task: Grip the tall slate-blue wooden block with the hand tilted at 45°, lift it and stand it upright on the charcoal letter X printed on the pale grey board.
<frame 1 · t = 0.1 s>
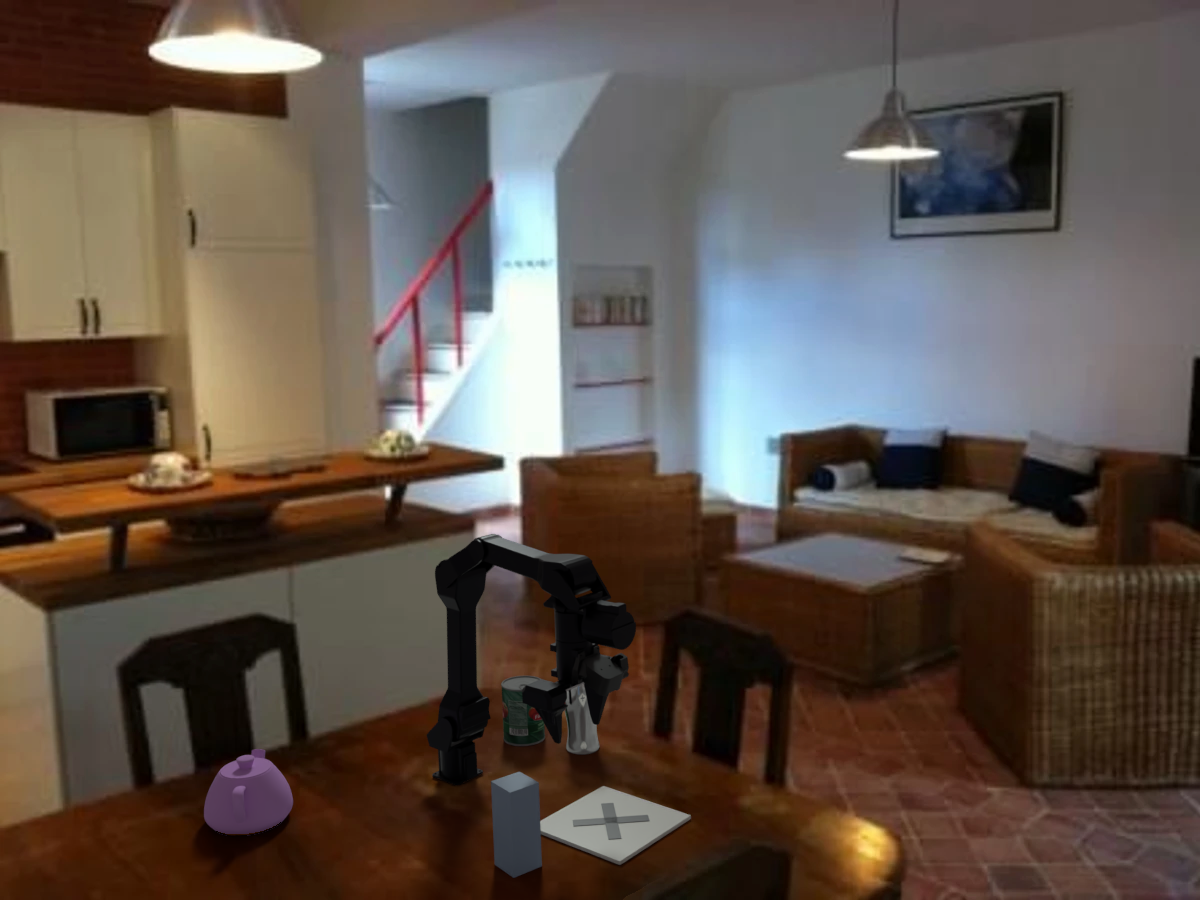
hand: (577, 733, 176), 15 cm above the table, tool pointing down, fingers open, 9 cm apart
blue block: (518, 865, 165), on the table
beer glass: (582, 749, 207), on the table
teapot: (250, 818, 183), on the table
canned tomato: (524, 739, 212), on the table
letter pad: (611, 824, 177), on the table
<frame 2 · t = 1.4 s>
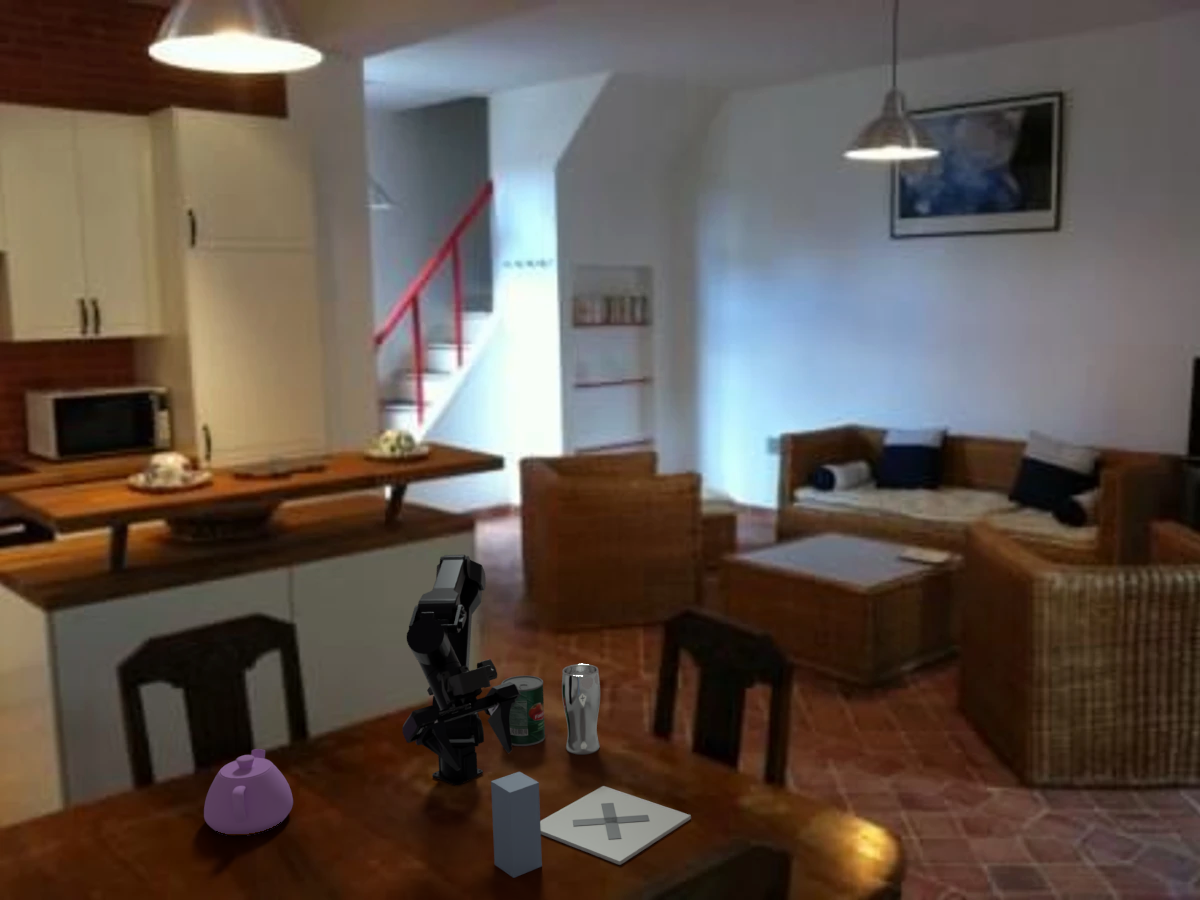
hand: (485, 760, 170), 13 cm above the table, tool tilted 45°, fingers open, 9 cm apart
nothing on the table moved.
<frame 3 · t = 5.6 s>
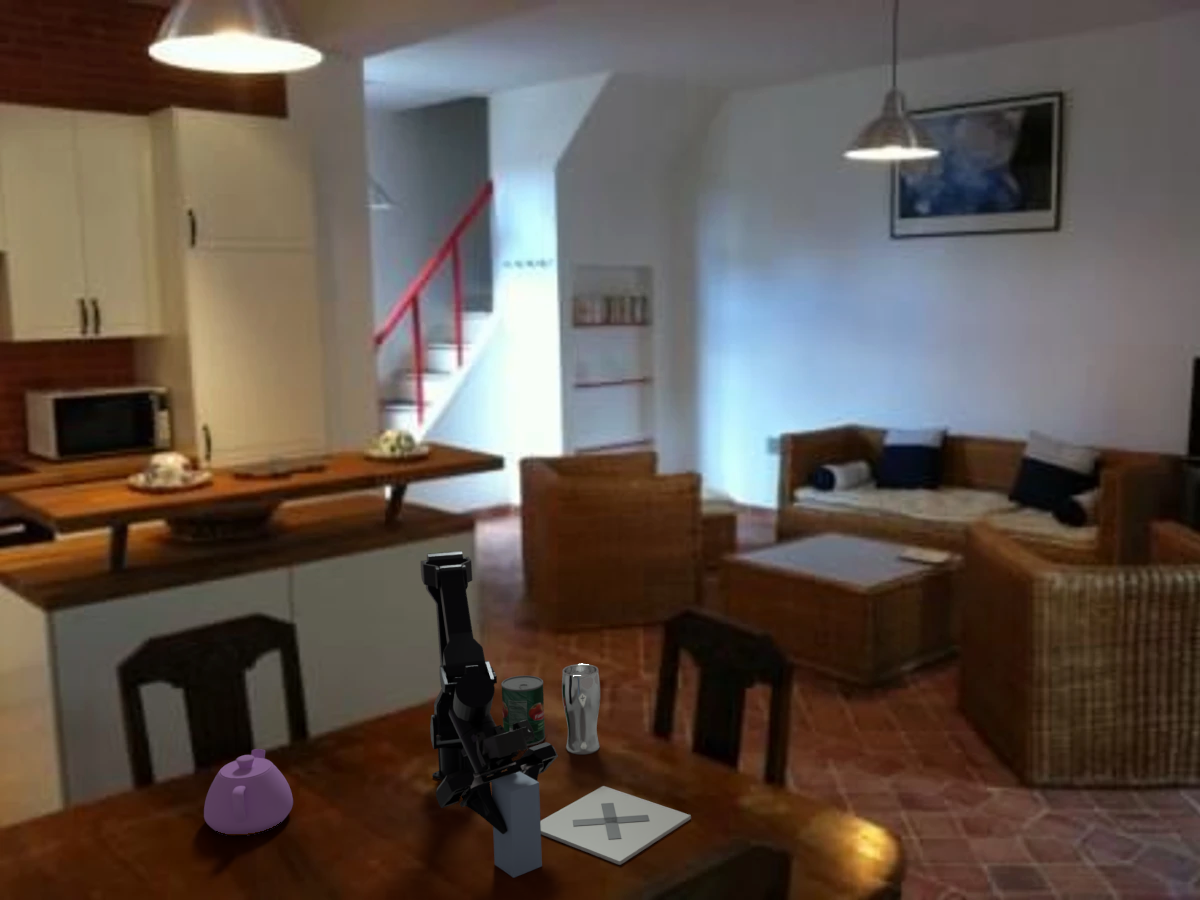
hand: (521, 826, 163), 7 cm above the table, tool tilted 45°, fingers closed on blue block, 5 cm apart
blue block: (518, 865, 165), on the table, touching gripper
everything else where it was.
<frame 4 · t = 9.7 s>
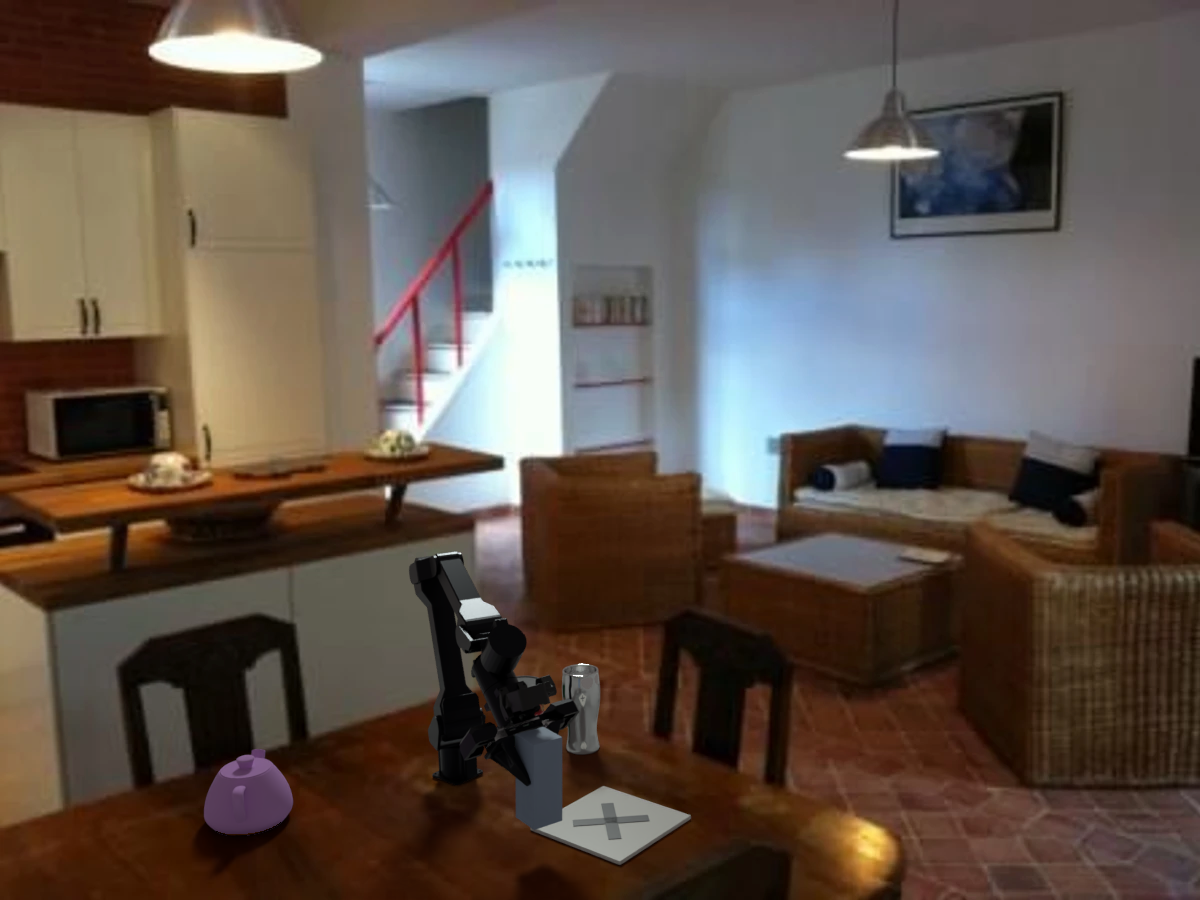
hand: (544, 779, 165), 12 cm above the table, tool tilted 45°, fingers closed on blue block, 5 cm apart
blue block: (539, 818, 167), point 6 cm above the table, touching gripper
everything else where it was.
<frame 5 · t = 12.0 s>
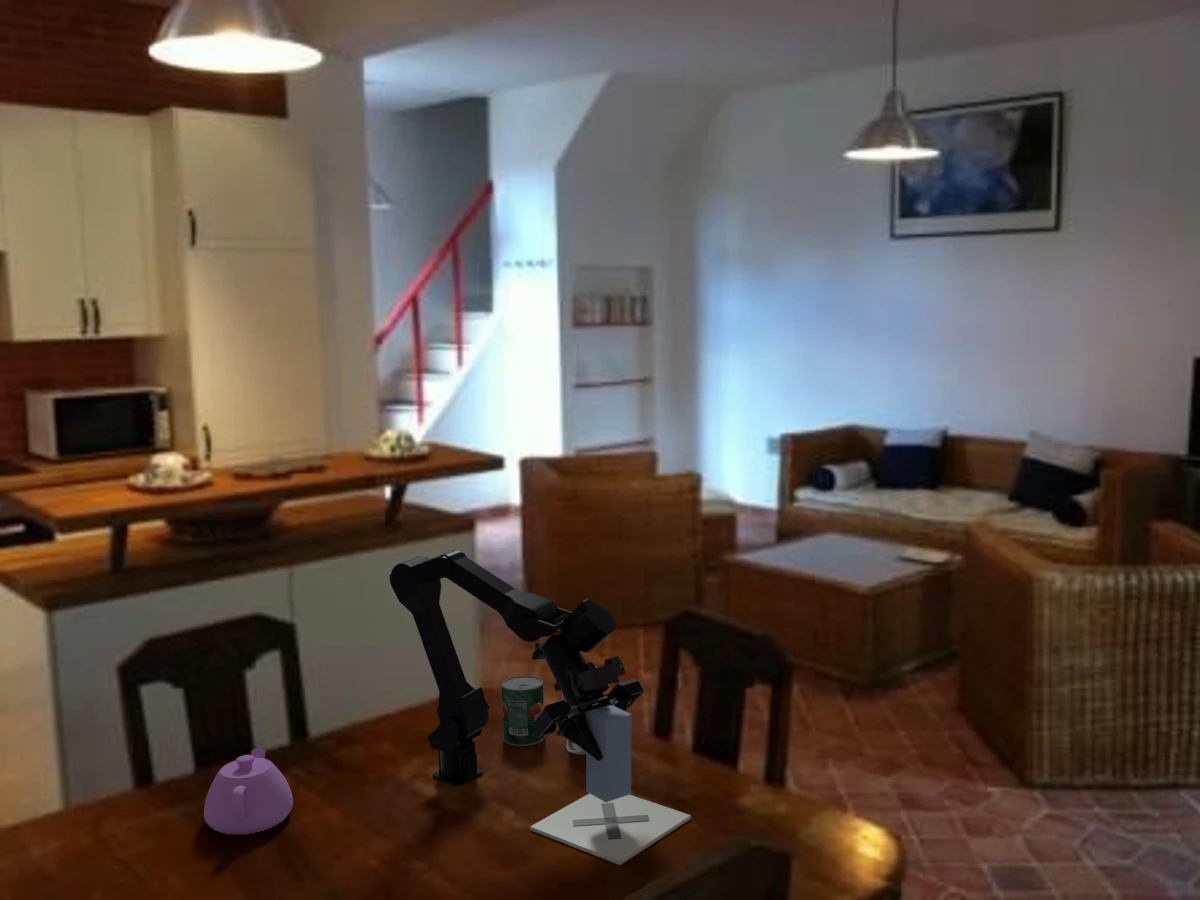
hand: (614, 754, 174), 12 cm above the table, tool tilted 45°, fingers closed on blue block, 5 cm apart
blue block: (608, 792, 176), point 5 cm above the table, touching gripper
everything else where it was.
when the fingers open (8 cm above the table, at t = 13.7 s): blue block drops 1 cm, resting on letter pad.
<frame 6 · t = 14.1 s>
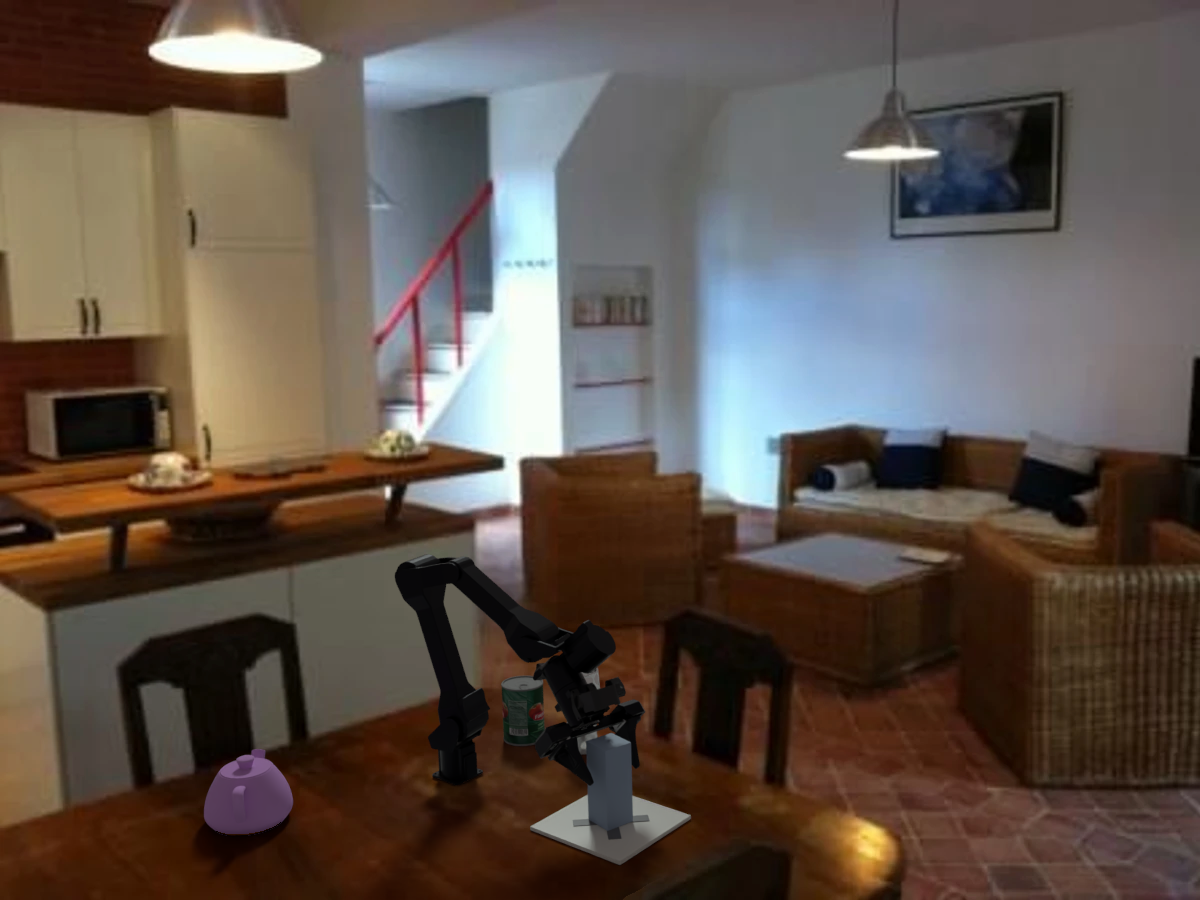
hand: (615, 775, 175), 9 cm above the table, tool tilted 45°, fingers open, 9 cm apart
blue block: (610, 820, 177), point 1 cm above the table, touching letter pad
everything else where it was.
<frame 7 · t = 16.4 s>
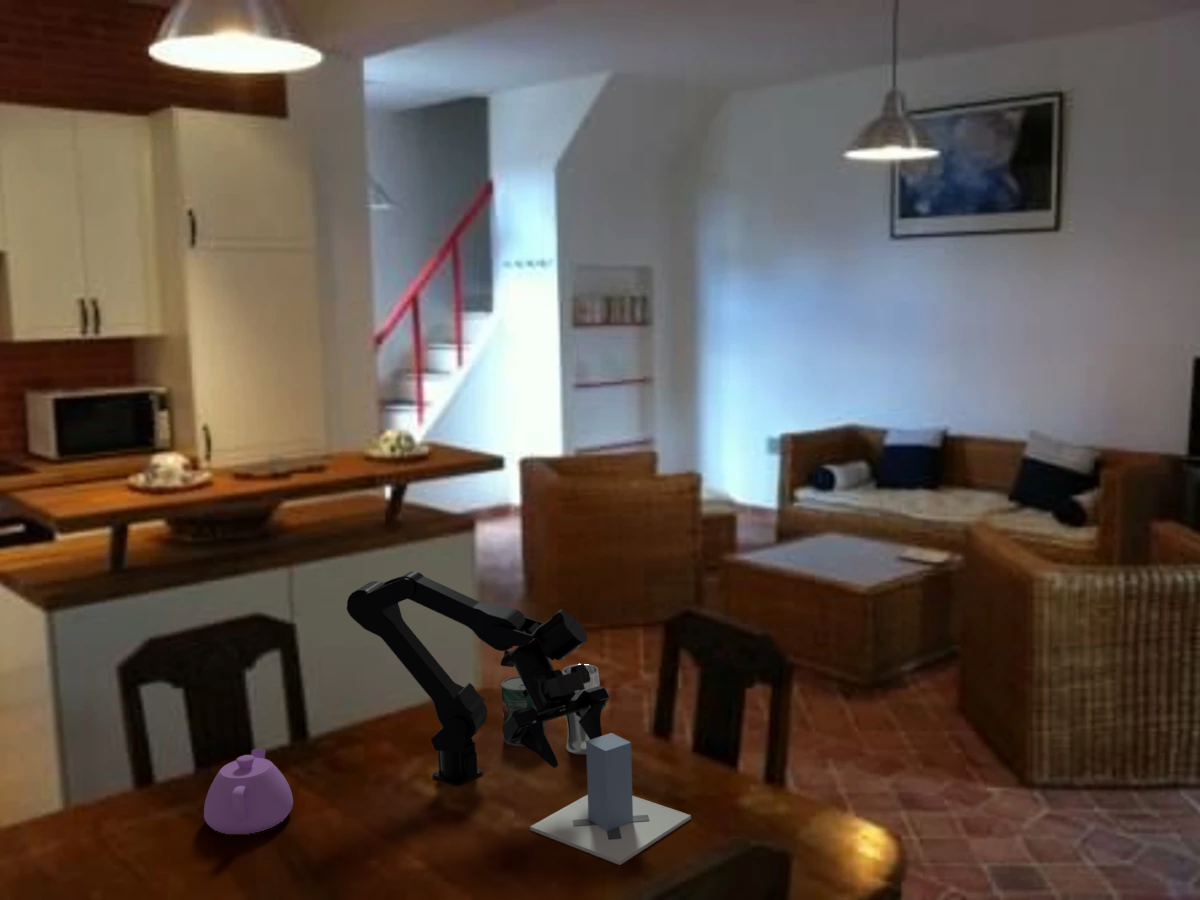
hand: (579, 758, 182), 8 cm above the table, tool tilted 45°, fingers open, 9 cm apart
nothing on the table moved.
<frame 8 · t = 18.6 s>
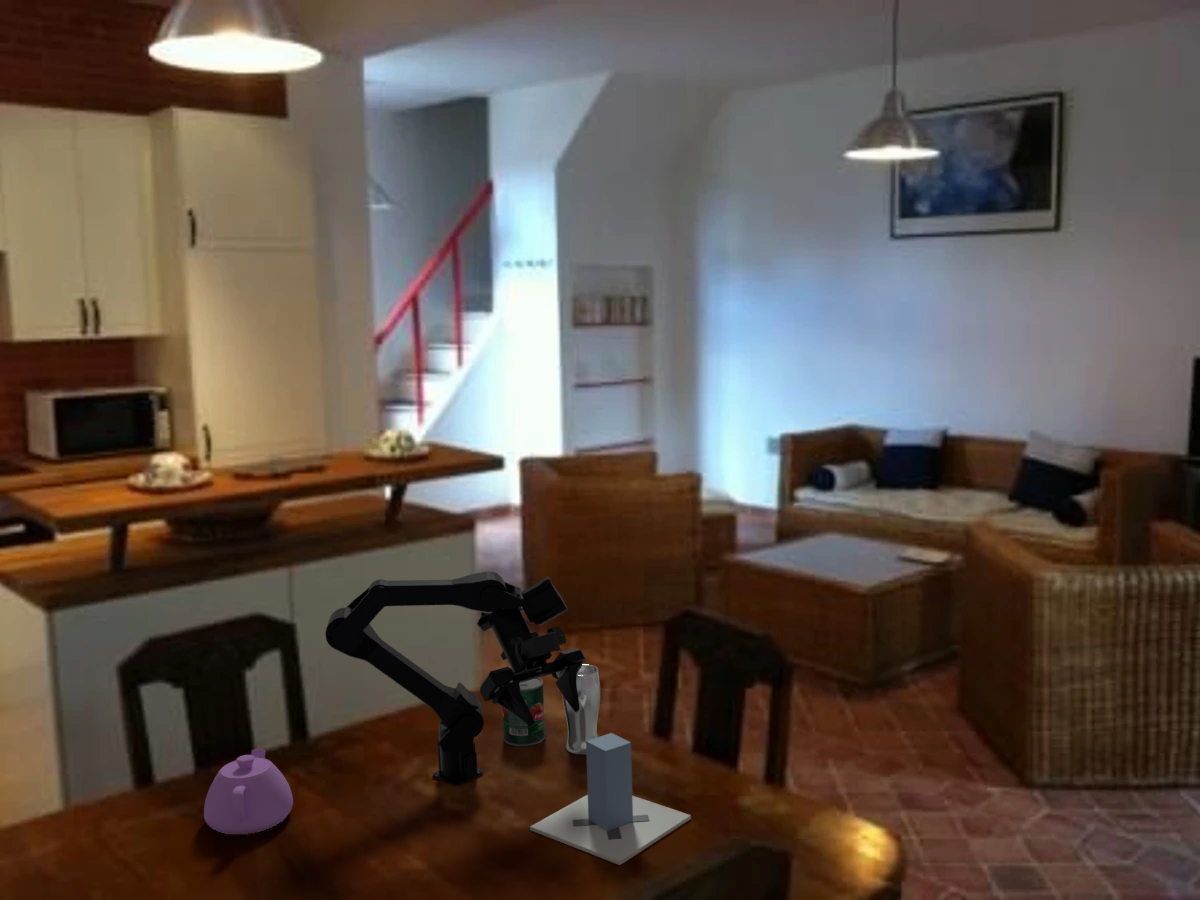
hand: (555, 717, 186), 14 cm above the table, tool tilted 45°, fingers open, 9 cm apart
nothing on the table moved.
at the end: blue block inside the target area on the letter pad (0.0 cm from its centre), point 0.7 cm above the letter pad's base; blue block tilted 0°; the gripper is holding nothing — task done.
